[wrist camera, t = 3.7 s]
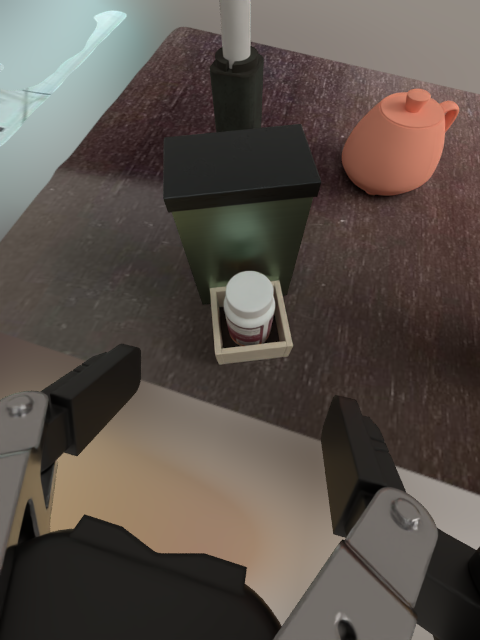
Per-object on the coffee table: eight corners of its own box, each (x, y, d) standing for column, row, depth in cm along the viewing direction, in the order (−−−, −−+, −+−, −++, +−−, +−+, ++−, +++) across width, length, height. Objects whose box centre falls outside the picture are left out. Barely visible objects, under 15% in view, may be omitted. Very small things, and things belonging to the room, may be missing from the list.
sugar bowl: (323, 158, 41) (345, 75, 32) (404, 139, 42) (448, 55, 33) (360, 214, 36) (399, 136, 27) (450, 191, 37) (518, 109, 28)
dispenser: (289, 296, 31) (321, 181, 17) (201, 306, 31) (163, 198, 17) (279, 252, 34) (301, 123, 20) (198, 261, 34) (163, 137, 20)
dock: (288, 356, 28) (293, 345, 25) (218, 364, 28) (215, 355, 25) (276, 296, 31) (279, 280, 28) (213, 303, 31) (209, 287, 28)
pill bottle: (249, 302, 31) (250, 257, 23) (279, 329, 29) (290, 290, 22) (219, 327, 30) (209, 289, 22) (248, 357, 28) (248, 327, 21)
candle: (218, 178, 40) (178, -172, 17) (230, 157, 42) (209, -183, 19) (250, 185, 39) (253, -172, 16) (261, 163, 41) (277, -184, 18)
